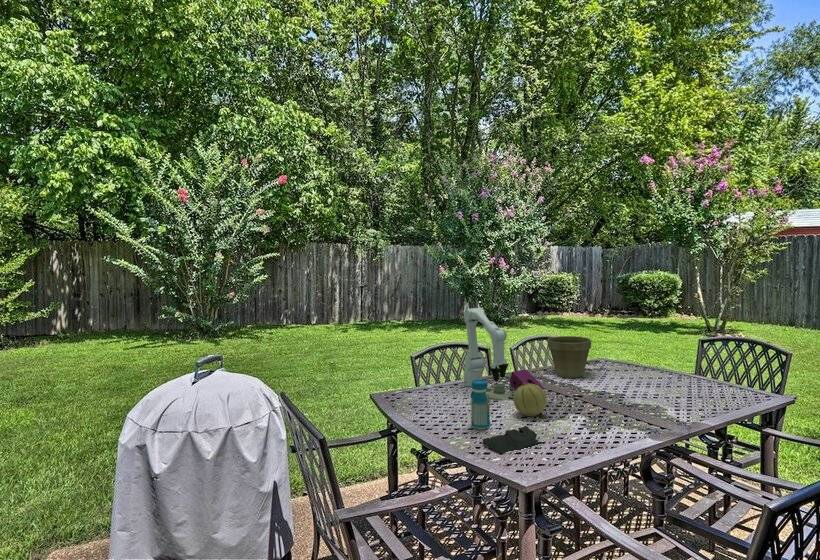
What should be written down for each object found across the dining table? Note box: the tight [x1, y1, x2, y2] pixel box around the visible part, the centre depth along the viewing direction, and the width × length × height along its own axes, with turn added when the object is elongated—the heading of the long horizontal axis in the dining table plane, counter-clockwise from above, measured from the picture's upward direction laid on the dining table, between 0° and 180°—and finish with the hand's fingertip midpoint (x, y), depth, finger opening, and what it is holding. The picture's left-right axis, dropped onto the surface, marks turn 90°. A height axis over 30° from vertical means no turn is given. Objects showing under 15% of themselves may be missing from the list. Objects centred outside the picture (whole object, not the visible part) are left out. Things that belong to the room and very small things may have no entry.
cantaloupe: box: [513, 383, 548, 417], centre depth 225 cm, size 15×15×15 cm
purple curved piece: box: [509, 368, 544, 391], centre depth 266 cm, size 9×8×18 cm
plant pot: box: [546, 335, 592, 379], centre depth 292 cm, size 25×25×22 cm
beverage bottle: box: [469, 378, 491, 430], centre depth 213 cm, size 8×8×20 cm
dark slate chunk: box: [482, 425, 542, 454], centre depth 194 cm, size 15×22×5 cm
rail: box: [470, 386, 511, 401], centre depth 258 cm, size 18×9×6 cm, turn 55°
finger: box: [493, 383, 506, 394], centre depth 255 cm, size 5×4×5 cm
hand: (499, 379), depth 255 cm, fingers open, 7 cm apart
